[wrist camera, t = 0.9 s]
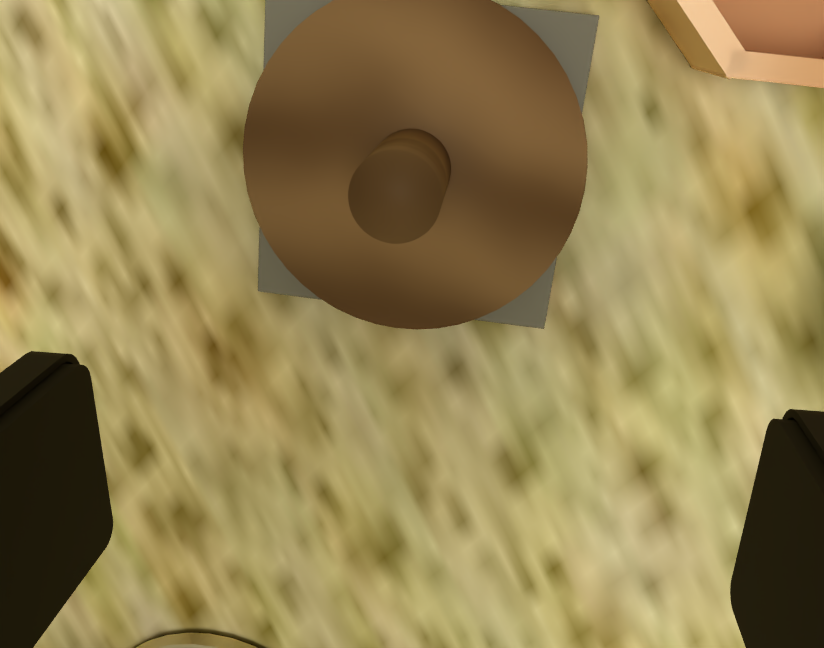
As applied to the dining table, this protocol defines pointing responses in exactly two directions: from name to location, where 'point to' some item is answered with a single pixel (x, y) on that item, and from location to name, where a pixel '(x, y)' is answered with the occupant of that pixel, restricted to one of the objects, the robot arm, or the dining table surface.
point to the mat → (573, 50)
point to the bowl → (749, 38)
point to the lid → (415, 158)
